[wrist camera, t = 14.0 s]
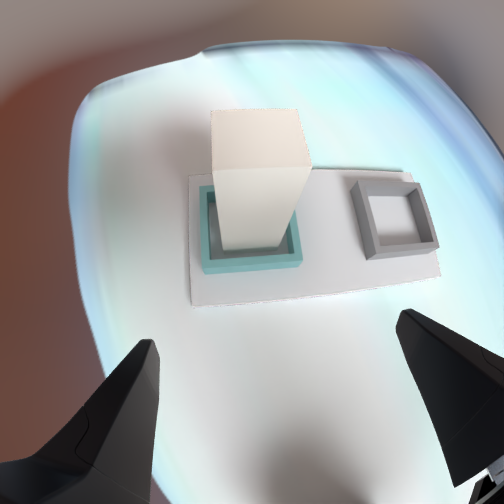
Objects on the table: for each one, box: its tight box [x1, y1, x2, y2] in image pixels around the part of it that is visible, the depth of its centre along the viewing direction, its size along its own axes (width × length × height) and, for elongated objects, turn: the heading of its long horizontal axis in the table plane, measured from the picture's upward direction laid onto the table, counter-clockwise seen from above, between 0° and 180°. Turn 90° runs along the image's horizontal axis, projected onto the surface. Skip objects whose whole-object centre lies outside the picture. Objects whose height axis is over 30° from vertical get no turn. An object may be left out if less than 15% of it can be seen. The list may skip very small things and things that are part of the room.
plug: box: [211, 109, 312, 255], centre depth 18 cm, size 5×4×12 cm
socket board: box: [189, 169, 441, 308], centre depth 24 cm, size 24×12×3 cm, turn 96°
